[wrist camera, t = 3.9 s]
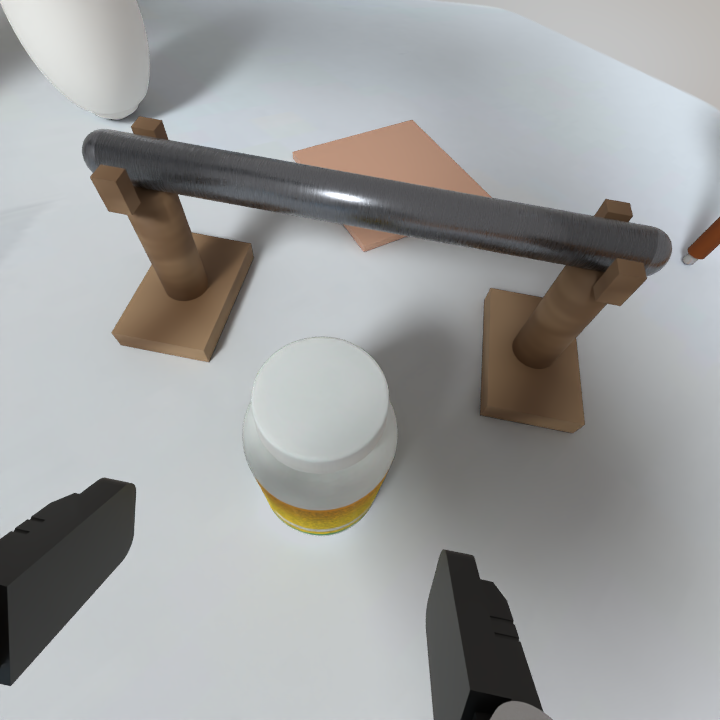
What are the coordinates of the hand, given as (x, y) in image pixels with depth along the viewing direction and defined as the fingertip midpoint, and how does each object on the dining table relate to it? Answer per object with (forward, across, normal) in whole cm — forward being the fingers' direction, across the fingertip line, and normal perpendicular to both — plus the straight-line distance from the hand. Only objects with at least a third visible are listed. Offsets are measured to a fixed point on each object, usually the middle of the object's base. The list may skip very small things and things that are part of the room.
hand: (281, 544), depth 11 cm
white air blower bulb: (+27, +23, -14) cm, 38 cm away
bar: (+9, 0, -9) cm, 13 cm away
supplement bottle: (+9, 0, +4) cm, 10 cm away
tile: (+25, 0, -13) cm, 28 cm away
